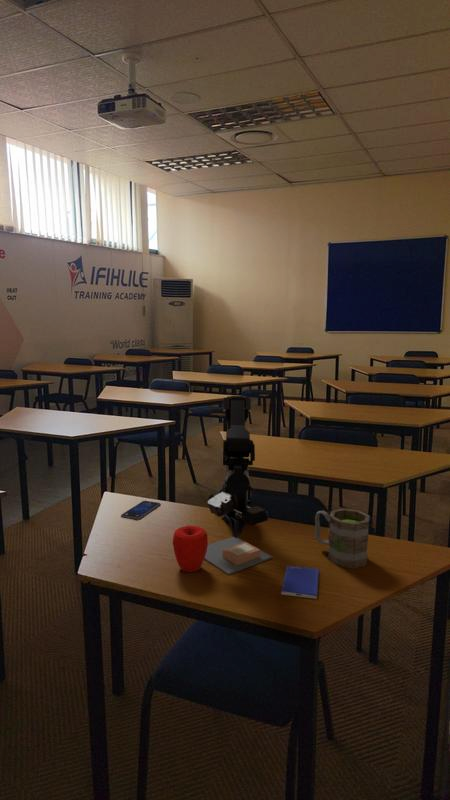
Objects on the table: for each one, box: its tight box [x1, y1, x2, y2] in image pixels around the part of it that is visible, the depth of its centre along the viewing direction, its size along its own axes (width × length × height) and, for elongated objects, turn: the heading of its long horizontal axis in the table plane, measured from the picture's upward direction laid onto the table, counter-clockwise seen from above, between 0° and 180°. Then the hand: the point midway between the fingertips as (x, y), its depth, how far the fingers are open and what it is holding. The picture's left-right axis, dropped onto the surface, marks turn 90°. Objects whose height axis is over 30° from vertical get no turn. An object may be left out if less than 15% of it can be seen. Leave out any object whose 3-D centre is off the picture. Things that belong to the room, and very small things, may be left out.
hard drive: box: [280, 565, 320, 600], centre depth 123 cm, size 2×8×12 cm
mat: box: [204, 536, 273, 575], centre depth 137 cm, size 15×16×1 cm
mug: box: [314, 508, 371, 569], centre depth 136 cm, size 16×11×12 cm
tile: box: [223, 541, 261, 565], centre depth 135 cm, size 8×2×6 cm
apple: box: [172, 525, 209, 573], centre depth 129 cm, size 9×9×11 cm
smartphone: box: [120, 500, 162, 521], centre depth 168 cm, size 7×1×15 cm
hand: (236, 537), depth 136 cm, fingers closed
